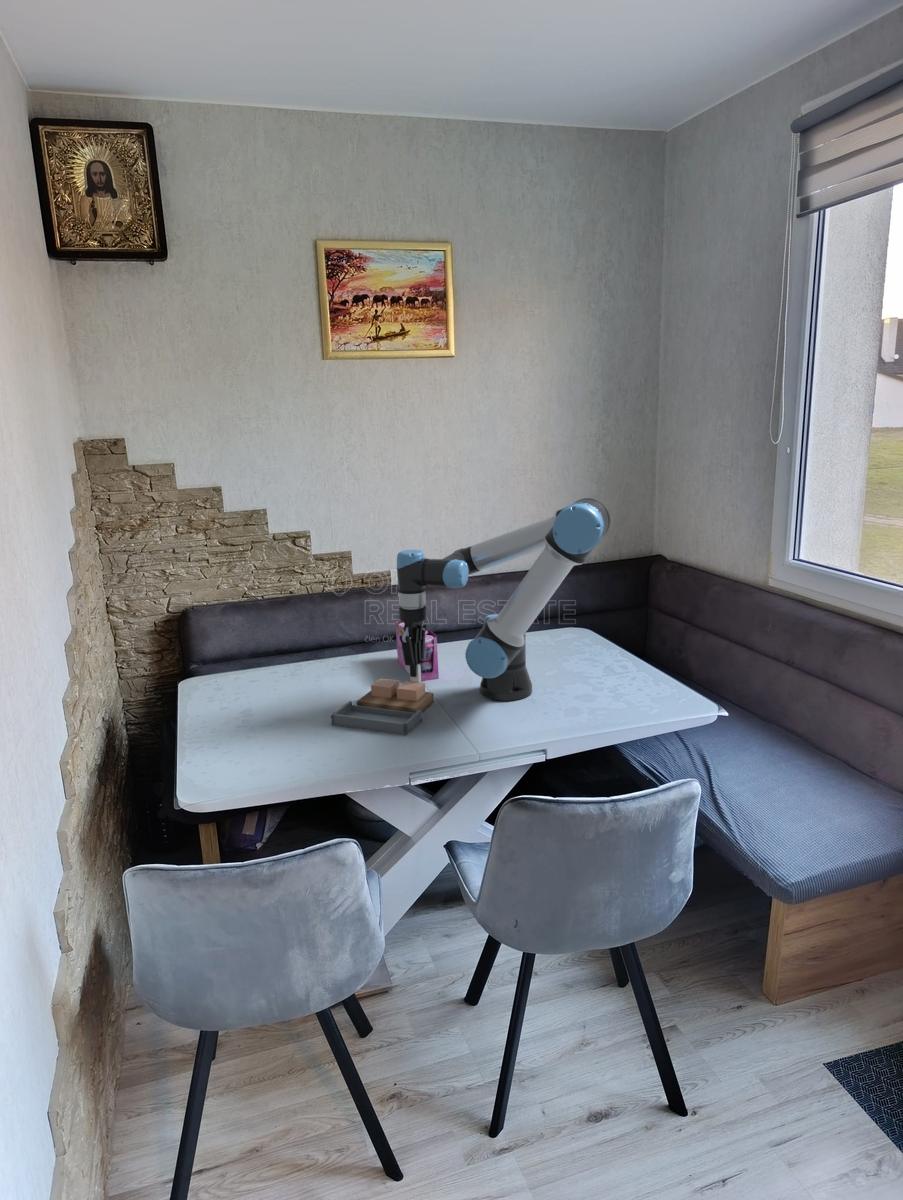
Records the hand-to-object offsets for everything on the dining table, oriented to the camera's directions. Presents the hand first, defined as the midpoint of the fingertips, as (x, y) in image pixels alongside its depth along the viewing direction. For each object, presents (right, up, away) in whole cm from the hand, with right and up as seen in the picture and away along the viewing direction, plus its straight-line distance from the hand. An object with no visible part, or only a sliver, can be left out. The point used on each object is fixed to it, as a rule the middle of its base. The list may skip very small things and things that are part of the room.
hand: (415, 686), depth 219 cm
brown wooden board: (-5, -6, -3) cm, 8 cm away
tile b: (-9, -2, 0) cm, 9 cm away
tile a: (-1, -2, -3) cm, 4 cm away
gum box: (-1, +2, +28) cm, 28 cm away
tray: (-10, -8, -13) cm, 18 cm away
